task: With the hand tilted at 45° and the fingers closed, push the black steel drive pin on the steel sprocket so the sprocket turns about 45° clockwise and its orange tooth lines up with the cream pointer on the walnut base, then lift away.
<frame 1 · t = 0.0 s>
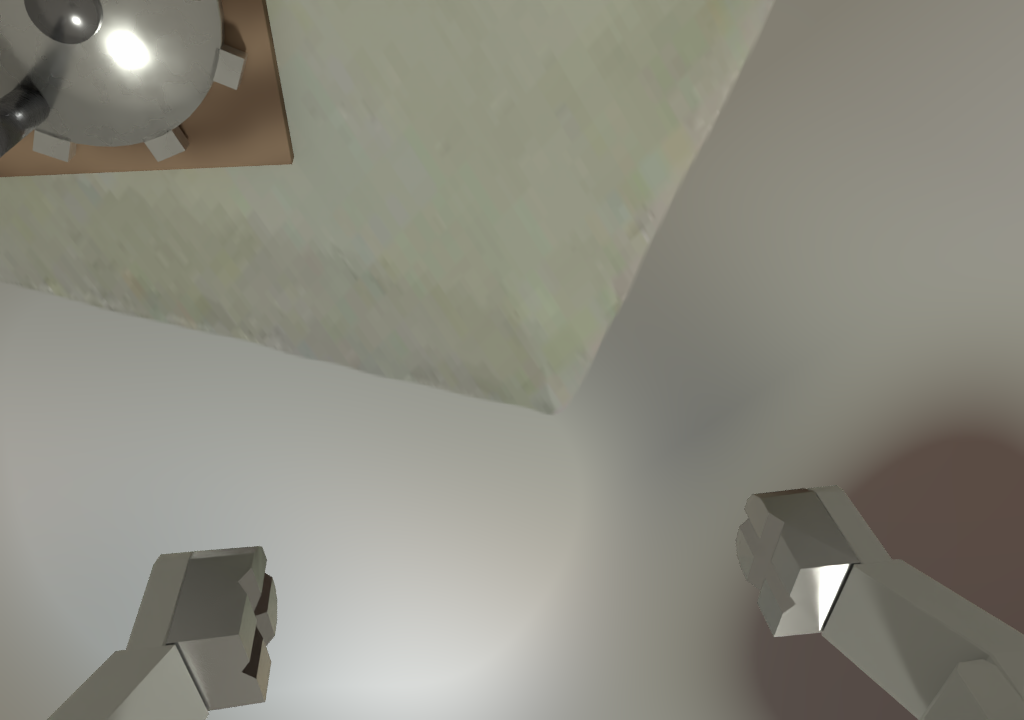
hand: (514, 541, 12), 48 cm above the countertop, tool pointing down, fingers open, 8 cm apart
sprocket: (48, 16, 42), point 7 cm above the countertop, hinge at 0.0°
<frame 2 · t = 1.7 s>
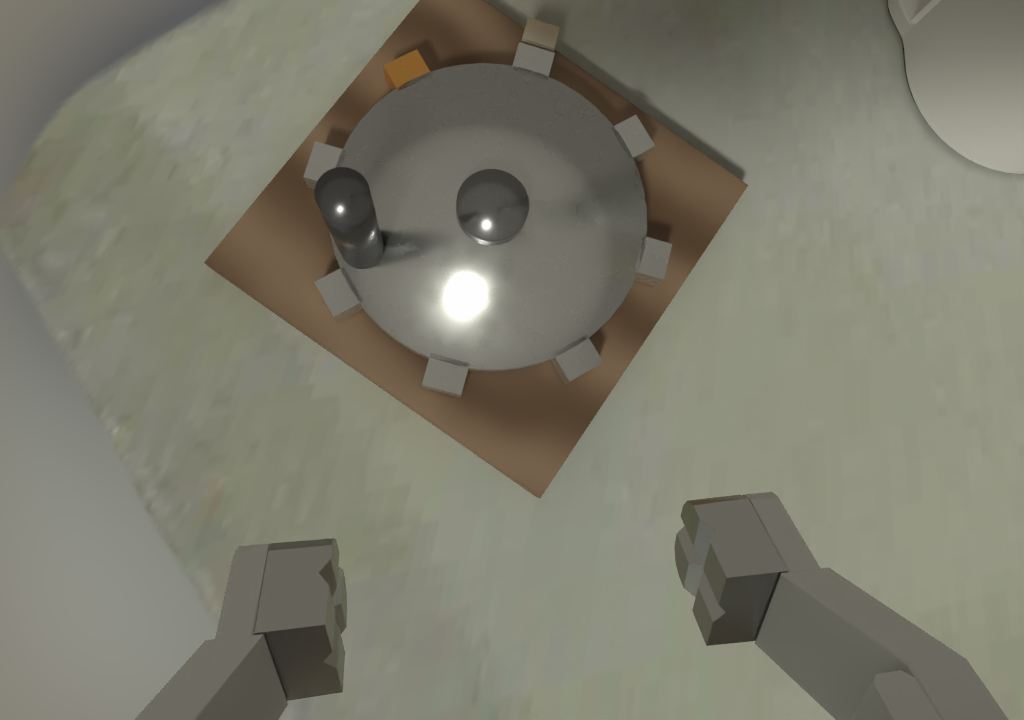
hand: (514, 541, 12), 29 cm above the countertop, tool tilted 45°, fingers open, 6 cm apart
sprocket base: (487, 230, 43), on the countertop
sprocket: (495, 189, 37), point 7 cm above the countertop, hinge at 0.0°
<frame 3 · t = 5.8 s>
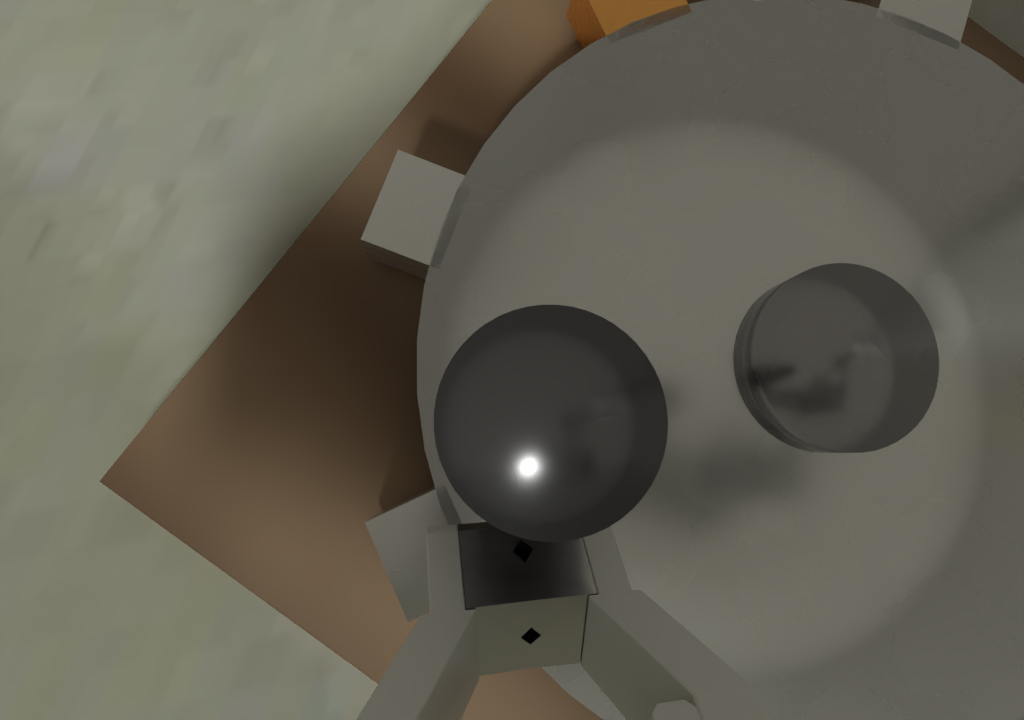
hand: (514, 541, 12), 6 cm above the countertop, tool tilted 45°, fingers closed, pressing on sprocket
sprocket base: (755, 378, 19), on the countertop
sprocket: (913, 341, 13), point 7 cm above the countertop, hinge at 4.5°, touching gripper
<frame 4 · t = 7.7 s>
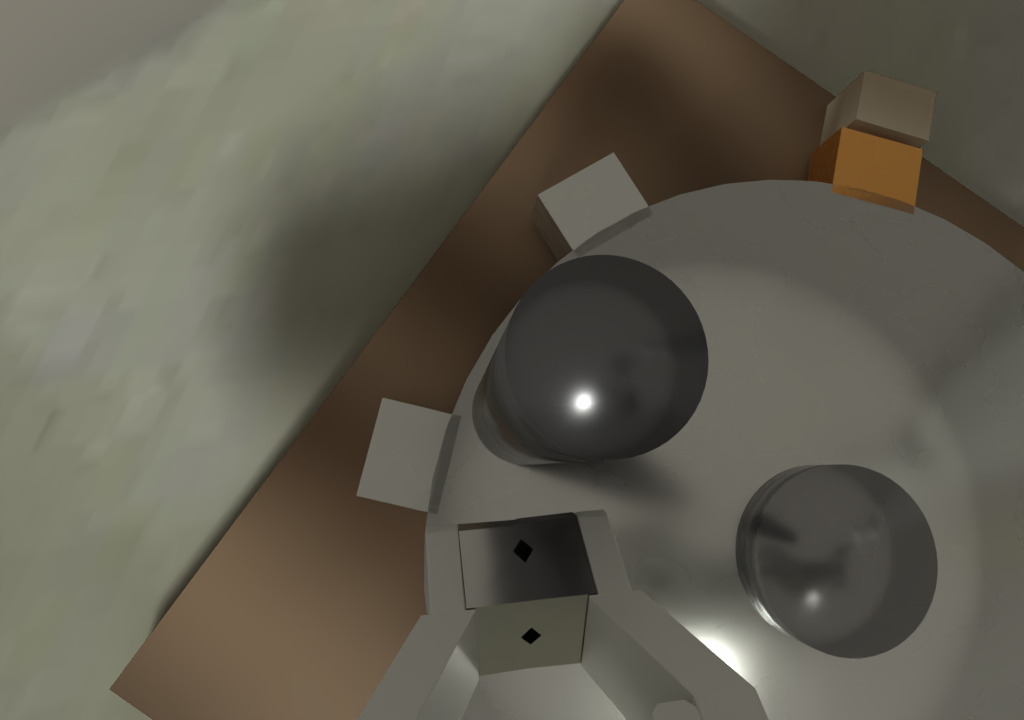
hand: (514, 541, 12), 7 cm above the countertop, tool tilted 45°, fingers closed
sprocket base: (756, 539, 20), on the countertop
sprocket: (912, 573, 13), point 7 cm above the countertop, hinge at 43.8°
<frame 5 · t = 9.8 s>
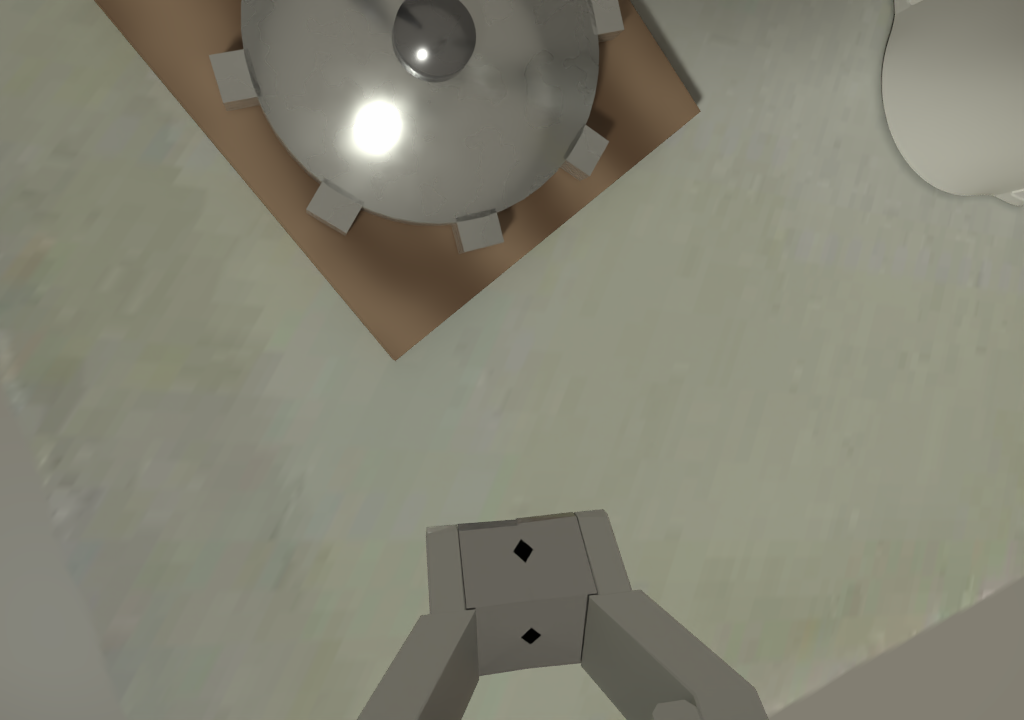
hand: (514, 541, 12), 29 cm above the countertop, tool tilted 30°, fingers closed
sprocket base: (422, 62, 39), on the countertop
sprocket: (443, 16, 33), point 7 cm above the countertop, hinge at 43.8°
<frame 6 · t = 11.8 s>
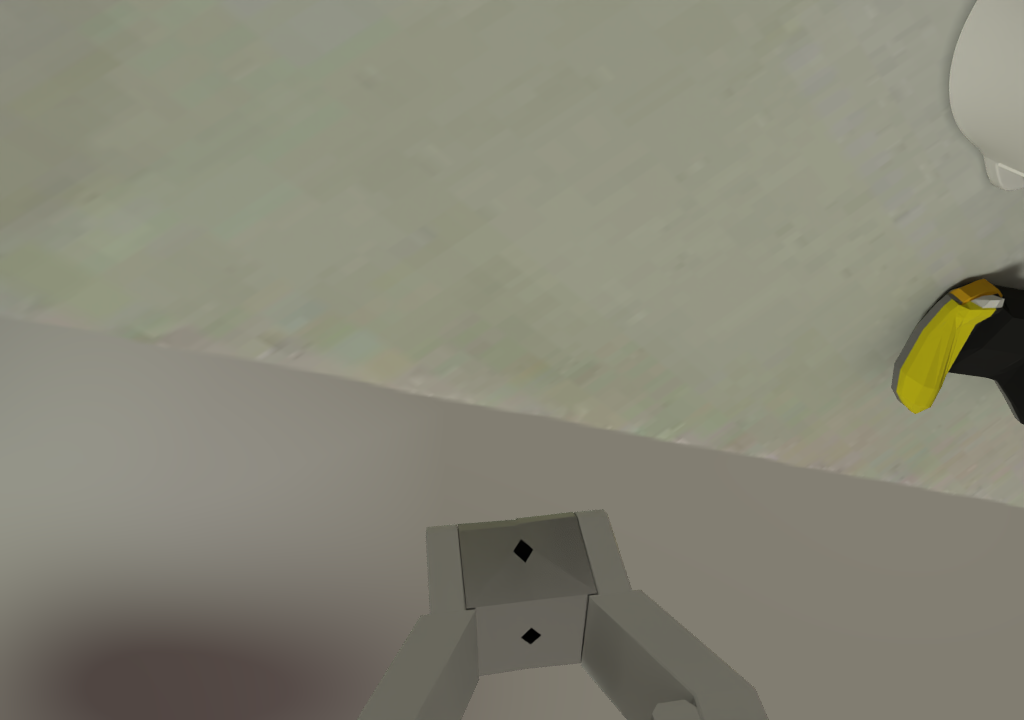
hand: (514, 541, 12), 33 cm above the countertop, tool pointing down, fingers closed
gaming controller: (968, 332, 56), on the countertop
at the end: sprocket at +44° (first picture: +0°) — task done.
